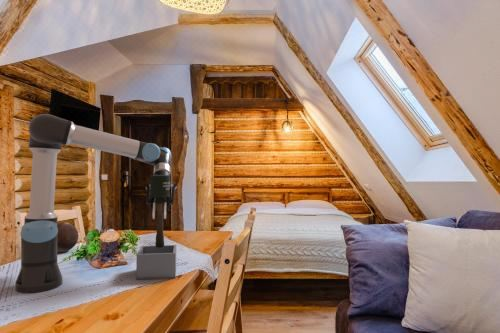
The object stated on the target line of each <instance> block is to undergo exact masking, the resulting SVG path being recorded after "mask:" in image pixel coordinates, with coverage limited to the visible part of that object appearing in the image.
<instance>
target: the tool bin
mask: <svg viewBox="0 0 500 333" xmlns="http://www.w3.org/2000/svg"><path fill="white" fill-rule="evenodd" d="M176 273H177V244H164V247H161V248H157V247H156V246H155V245H141V246H140V248H139V249H138V251H137V252H136V275H135V276H136V277H135V278H136V281H144V280H165V279H176V276H177V275H176Z"/></svg>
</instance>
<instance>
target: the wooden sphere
mask: <svg viewBox="0 0 500 333" xmlns="http://www.w3.org/2000/svg"><path fill="white" fill-rule="evenodd" d="M57 228H58V233H57V253H66V252H68V251H70V250H72V249H73V248H74V247H75V246H76V245H77V242H78V241H79V232H78V229H77V228H76V226H74V225H73V224H71V223H69V222H57Z"/></svg>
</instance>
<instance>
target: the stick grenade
mask: <svg viewBox="0 0 500 333" xmlns="http://www.w3.org/2000/svg"><path fill="white" fill-rule="evenodd" d="M149 177H150V178H149V179H150V184H149V185H150V195H149V197H150V198H151V199H152V198H155V199H156V201H155V205H156V208H155V214H156V234H155V245H154V246H156V247H157V248H161V247H164V245H165V236H164V204H165V197H169V198H171V192H170V189H171V187H170V182H171V175H170V176H169V175H154V174H153V175H150V176H149Z"/></svg>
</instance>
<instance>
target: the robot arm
mask: <svg viewBox="0 0 500 333" xmlns="http://www.w3.org/2000/svg"><path fill="white" fill-rule="evenodd" d="M28 133H29V139H28V149H29V150H30V152H32V161H31V163H32V164H31V179H30V180H31V181H30V195H29V211H28V213H27V214H26V215H25V216H24V221H23V223H24V224H23V225H22V227H21V230H20V237H21V238H20V240H21V241H20V246H21V247H20V248H21V249H20V270H19V271H18V274H17V278H16V281H15V284H14V290H15V291H16V292H19V293H22V294H23V293H25V294H26V293H27V294H28V293H39V292H40V293H41V292H44V291H45V292H46V291H49V290H53V289H56V288H58V287H60V286H61V285H62V284H63V275H62V273H61V269H60V267H59V265H58V252H57V233H58V228H57V224H58V218H59V217H58V215H57V214H56V213H55V212H54V211H55V199H56V198H55V197H56V195H55V194H56V180H57V179H56V178H57V163H58V162H57V160H58V155H59V153H61V151H62V146H69V145H74V146H79V147H82V148H87V149H93V150H97V151H102V152H106V153H110V154H114V155H115V154H116V155H118V156H123V157H128V158H130V159H133V160H134V161H135V160H136V161H139V162H142V163H146V164H147V165H148V164H149V165H151V166H153V175H169V176H170V177H171V171H172V153H171V150H170V149H169V148H167V147H166V146H163V147H162V146H158V145H157V143H152V142H149V143H148V142H144V141H141V140H140V141H139V140H138V139H133V138H128V137H124V136H121V135H117V134H112V133H109V132H105V131H100V130H96V129H93V128H89V127H86V126H82V125H77V124H75V123H74V122H73V121H72V120H68V119H65V118H61V117H58V116H56V115H53V114H49V113H41V114H37V115H36V116H34V117H32V119H31V120H30V121H29V124H28ZM177 188H178V187H177V183H173V184H172V183H171V181H170V189H171V192H170V197H165V199H164V212H163V220H166V219H167V212H169V211H170V206H172V205H173V206H174V204H175V194H176V193H175V192H176V191H177ZM145 190H146V197H145V198H146V205H147V206H150V207H149V210H150V212H152V214H151V215H152V220H155V219H156V218H155V217H156V199H155V198H152V197H149V195H150V184H149V183H146V184H145ZM169 198H170V199H169Z"/></svg>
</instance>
